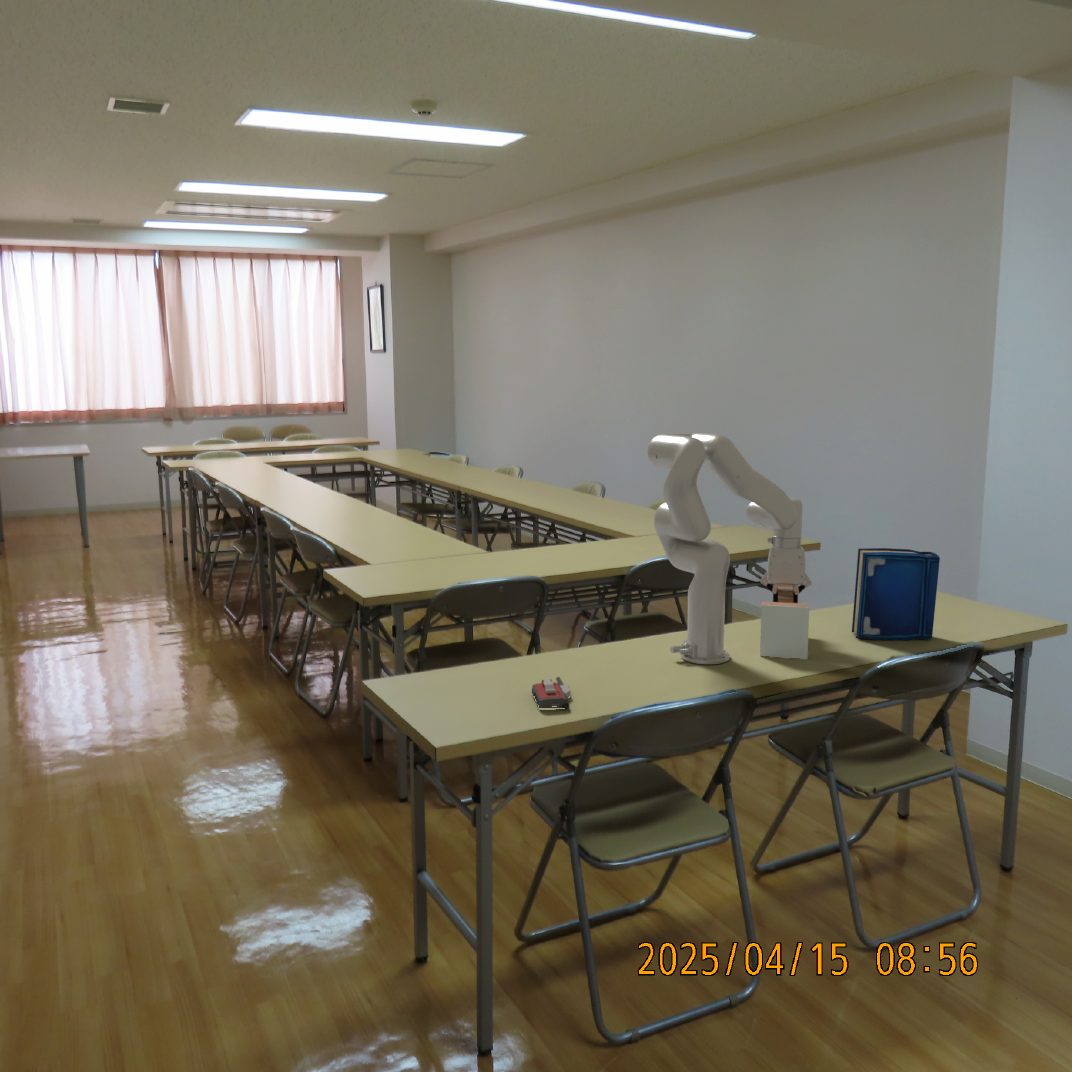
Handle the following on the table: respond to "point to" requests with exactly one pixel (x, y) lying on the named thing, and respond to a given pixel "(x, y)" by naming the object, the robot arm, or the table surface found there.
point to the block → (785, 593)
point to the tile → (784, 630)
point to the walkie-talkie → (551, 694)
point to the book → (895, 594)
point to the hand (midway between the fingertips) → (785, 606)
